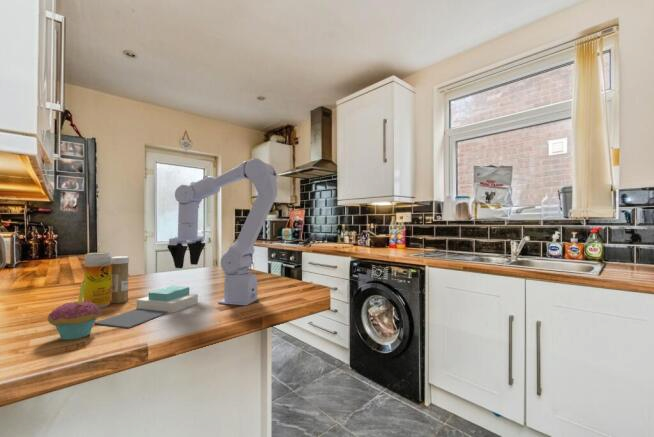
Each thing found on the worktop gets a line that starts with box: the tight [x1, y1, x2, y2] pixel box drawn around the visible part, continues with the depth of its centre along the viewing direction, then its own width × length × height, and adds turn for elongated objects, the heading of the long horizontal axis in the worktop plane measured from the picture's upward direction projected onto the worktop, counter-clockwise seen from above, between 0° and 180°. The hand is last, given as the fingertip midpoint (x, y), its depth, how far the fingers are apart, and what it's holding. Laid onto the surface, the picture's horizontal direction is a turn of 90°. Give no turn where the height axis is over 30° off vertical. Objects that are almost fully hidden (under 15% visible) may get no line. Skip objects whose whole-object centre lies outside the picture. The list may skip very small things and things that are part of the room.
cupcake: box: [47, 279, 101, 341], centre depth 63 cm, size 9×8×12 cm
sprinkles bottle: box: [110, 255, 130, 304], centre depth 89 cm, size 5×5×13 cm
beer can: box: [83, 251, 113, 309], centre depth 84 cm, size 6×6×15 cm
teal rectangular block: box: [148, 285, 190, 301], centre depth 86 cm, size 6×9×2 cm, turn 166°
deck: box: [135, 293, 199, 314], centre depth 86 cm, size 12×10×2 cm
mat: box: [93, 309, 170, 329], centre depth 75 cm, size 10×12×1 cm
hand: (186, 266), depth 95 cm, fingers open, 7 cm apart
